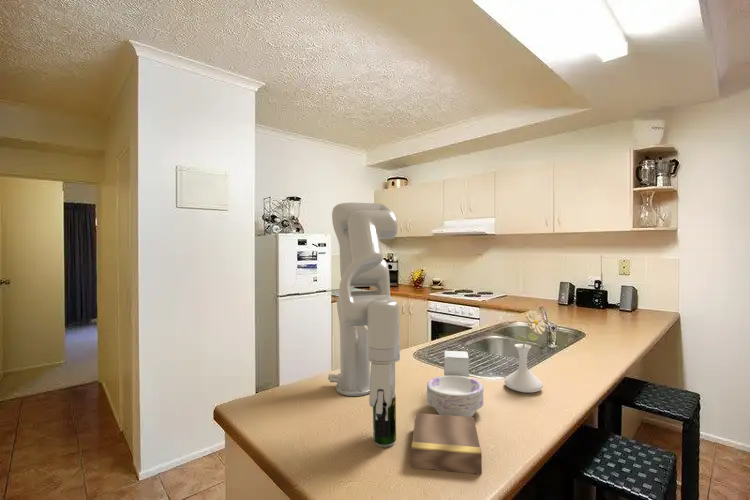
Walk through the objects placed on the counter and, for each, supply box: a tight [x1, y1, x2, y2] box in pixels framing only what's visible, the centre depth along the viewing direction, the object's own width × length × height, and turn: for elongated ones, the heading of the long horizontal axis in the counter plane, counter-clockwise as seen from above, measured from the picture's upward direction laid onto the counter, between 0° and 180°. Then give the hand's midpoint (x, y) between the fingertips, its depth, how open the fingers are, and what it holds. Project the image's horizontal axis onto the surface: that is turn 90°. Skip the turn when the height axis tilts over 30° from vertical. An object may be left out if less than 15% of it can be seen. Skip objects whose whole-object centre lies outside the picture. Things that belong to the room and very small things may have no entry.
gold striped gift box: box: [411, 412, 483, 475], centre depth 81 cm, size 14×16×4 cm
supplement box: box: [443, 350, 470, 378], centre depth 111 cm, size 7×7×13 cm
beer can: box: [372, 391, 397, 448], centre depth 84 cm, size 5×5×12 cm
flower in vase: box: [504, 309, 546, 393], centre depth 115 cm, size 13×11×25 cm
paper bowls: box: [426, 375, 485, 417], centre depth 99 cm, size 15×15×8 cm
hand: (384, 429), depth 84 cm, fingers closed on beer can, 5 cm apart
